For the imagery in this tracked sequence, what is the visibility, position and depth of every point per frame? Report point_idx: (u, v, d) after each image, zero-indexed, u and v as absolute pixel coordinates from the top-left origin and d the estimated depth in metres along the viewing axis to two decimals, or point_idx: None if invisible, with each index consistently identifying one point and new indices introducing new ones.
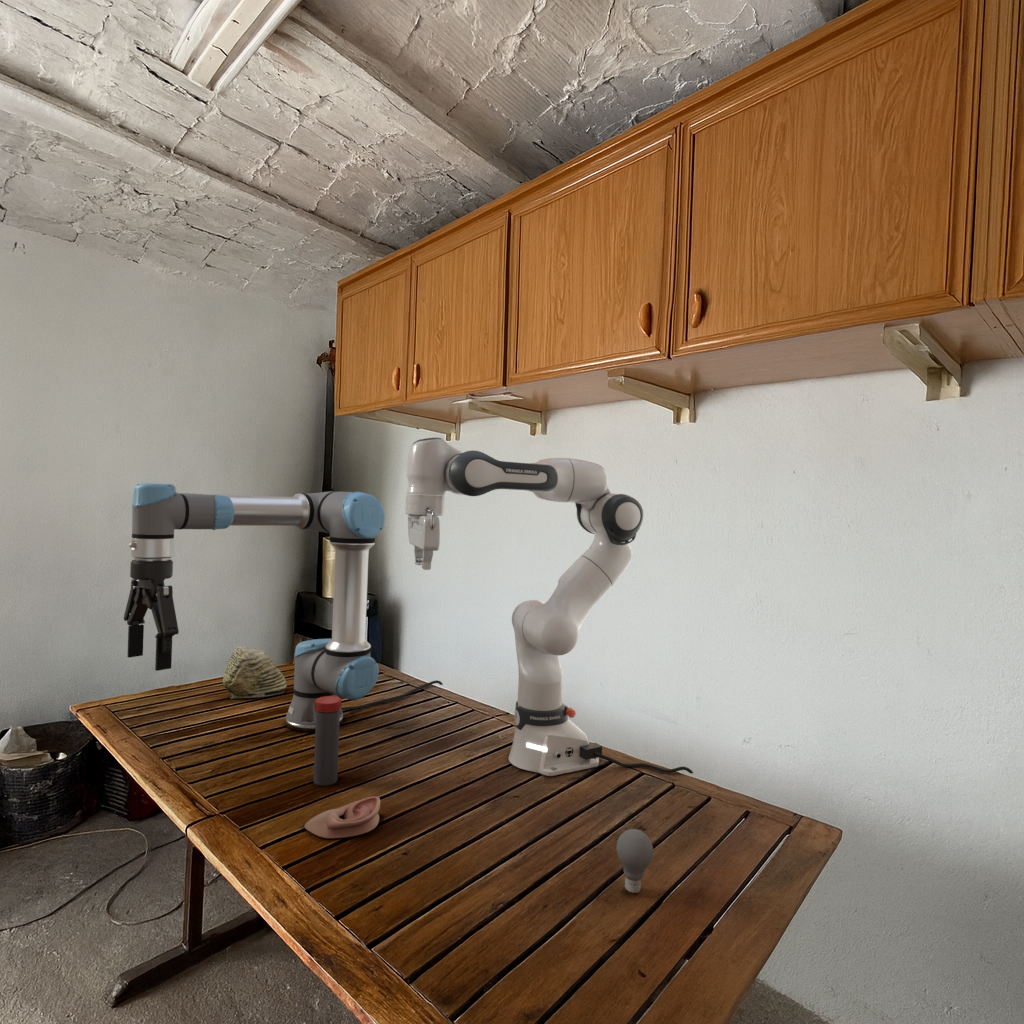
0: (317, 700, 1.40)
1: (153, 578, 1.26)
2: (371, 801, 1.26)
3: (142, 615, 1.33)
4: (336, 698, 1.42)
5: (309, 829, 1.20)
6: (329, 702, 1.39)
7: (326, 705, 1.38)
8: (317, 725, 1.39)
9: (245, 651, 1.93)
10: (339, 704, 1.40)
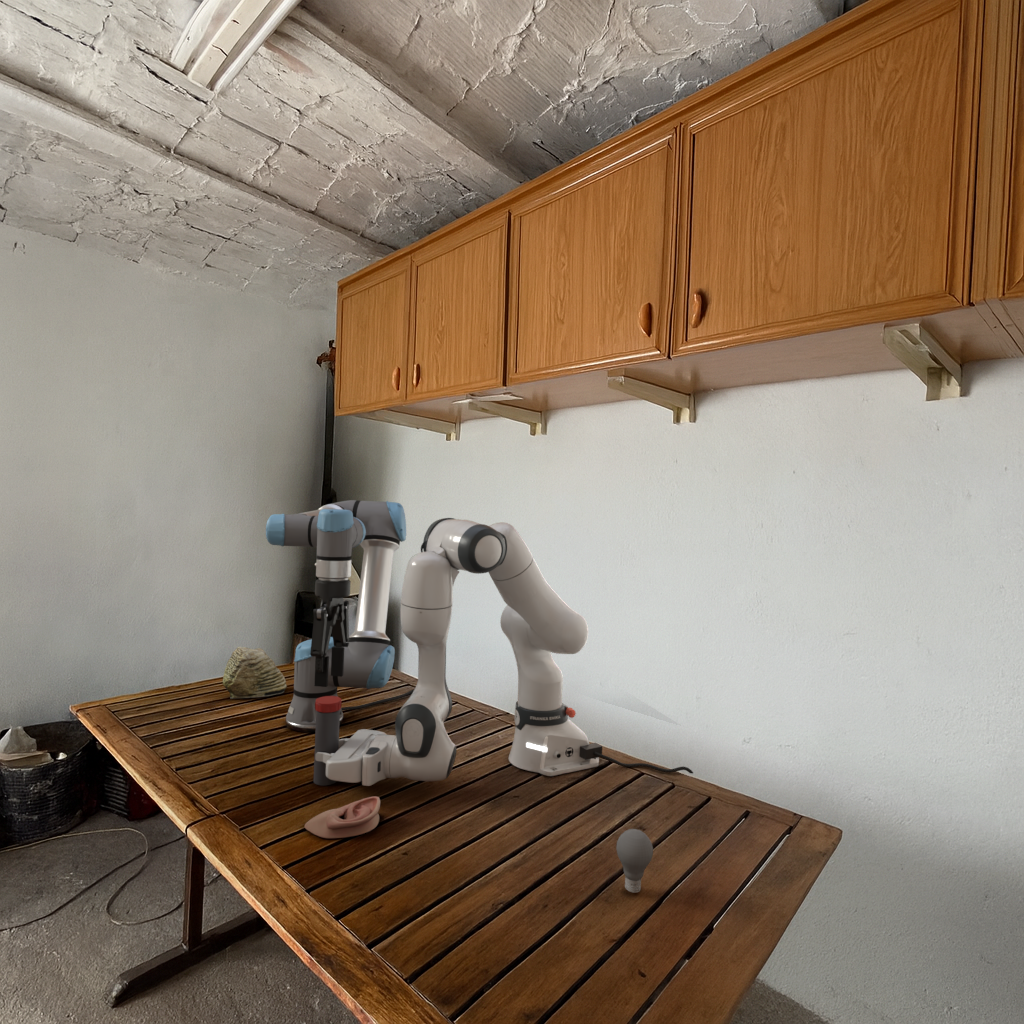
0: (317, 700, 1.40)
1: (320, 596, 1.37)
2: (371, 801, 1.26)
3: (340, 636, 1.44)
4: (336, 698, 1.42)
5: (309, 829, 1.20)
6: (329, 702, 1.39)
7: (326, 705, 1.38)
8: (317, 725, 1.39)
9: (245, 651, 1.93)
10: (339, 704, 1.40)
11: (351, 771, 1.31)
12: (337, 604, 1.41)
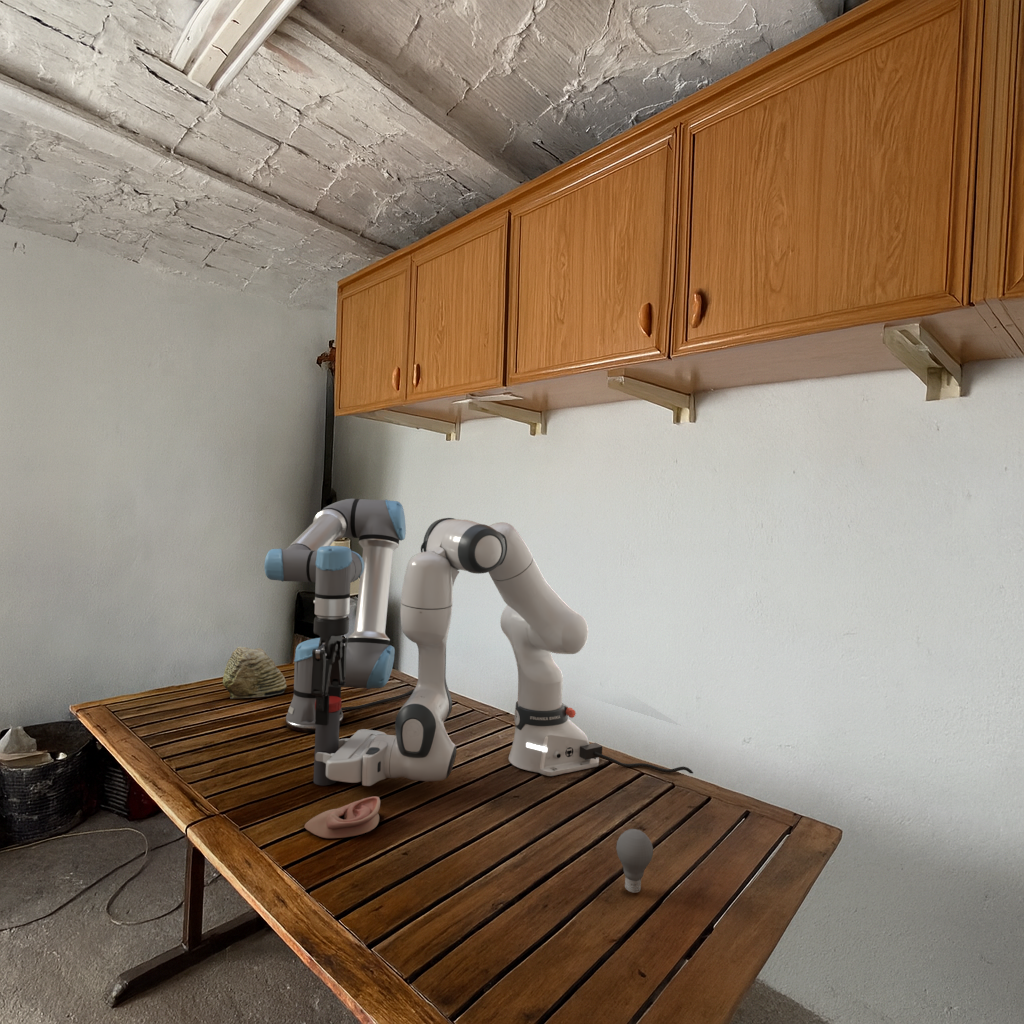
0: None
1: (319, 634, 1.37)
2: (371, 801, 1.26)
3: (337, 674, 1.44)
4: (336, 698, 1.42)
5: (309, 829, 1.20)
6: (329, 702, 1.39)
7: None
8: (317, 725, 1.39)
9: (245, 651, 1.93)
10: (339, 704, 1.40)
11: (351, 771, 1.31)
12: (336, 641, 1.41)
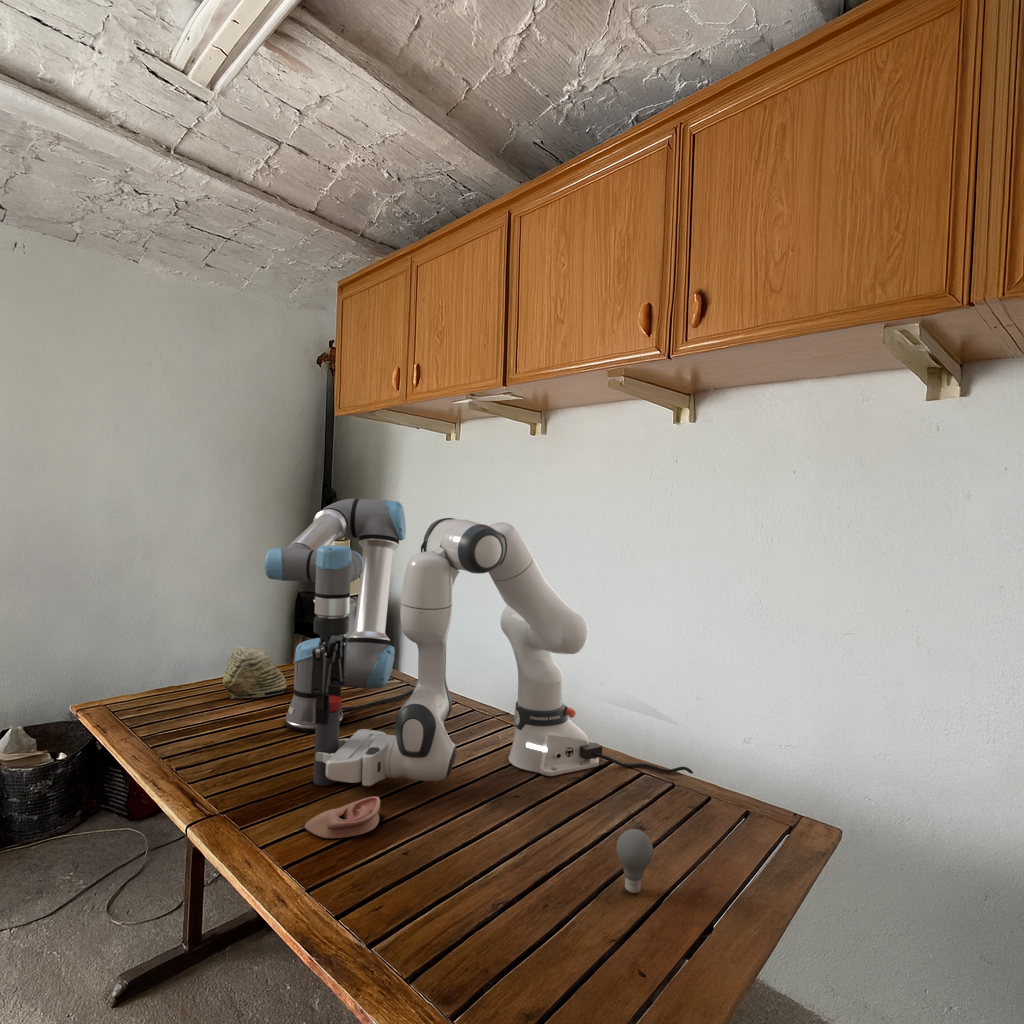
0: None
1: (319, 634, 1.37)
2: (371, 801, 1.26)
3: (337, 673, 1.44)
4: None
5: (309, 829, 1.20)
6: (337, 698, 1.42)
7: (341, 701, 1.41)
8: (317, 725, 1.39)
9: (245, 651, 1.93)
10: None
11: (351, 771, 1.31)
12: (336, 641, 1.41)
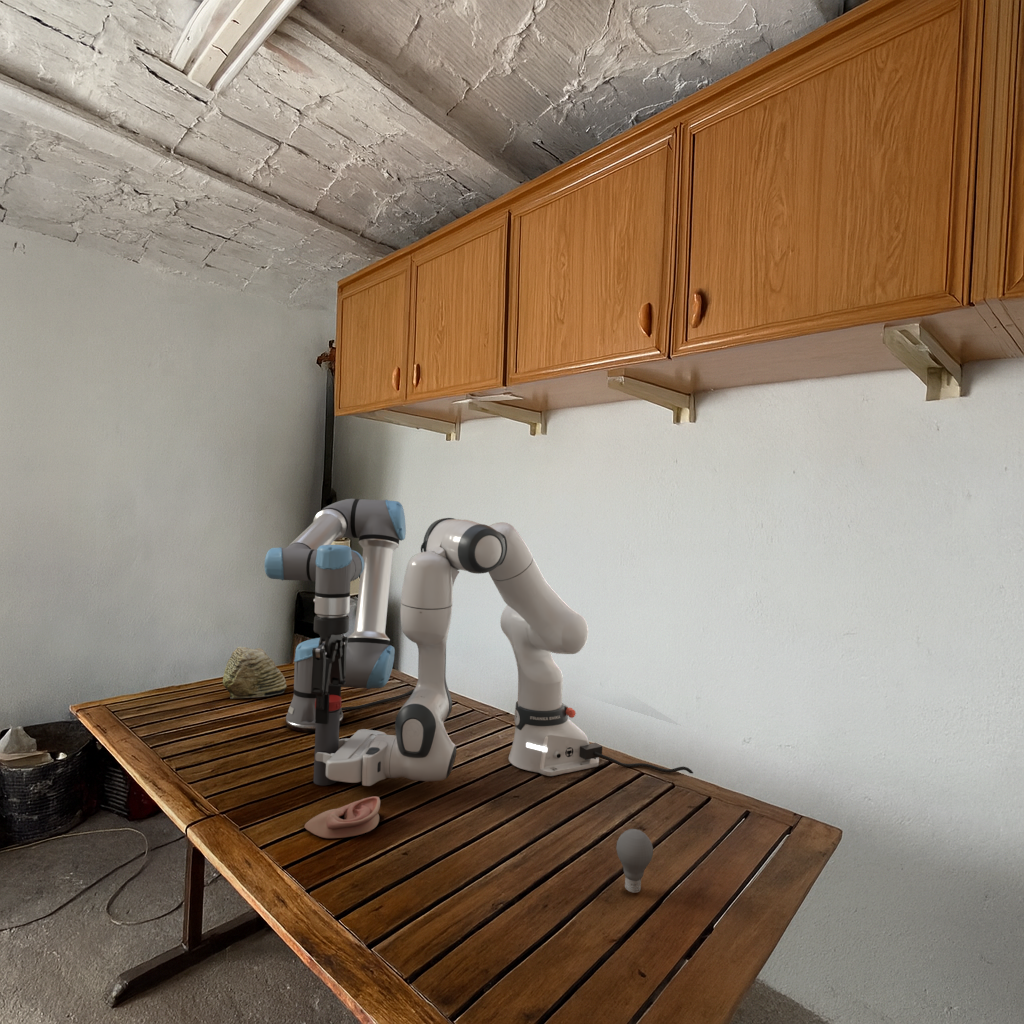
0: (339, 698, 1.42)
1: (319, 633, 1.37)
2: (371, 801, 1.26)
3: (337, 673, 1.44)
4: None
5: (309, 829, 1.20)
6: None
7: None
8: (317, 725, 1.39)
9: (245, 651, 1.93)
10: None
11: (351, 771, 1.31)
12: (336, 640, 1.41)
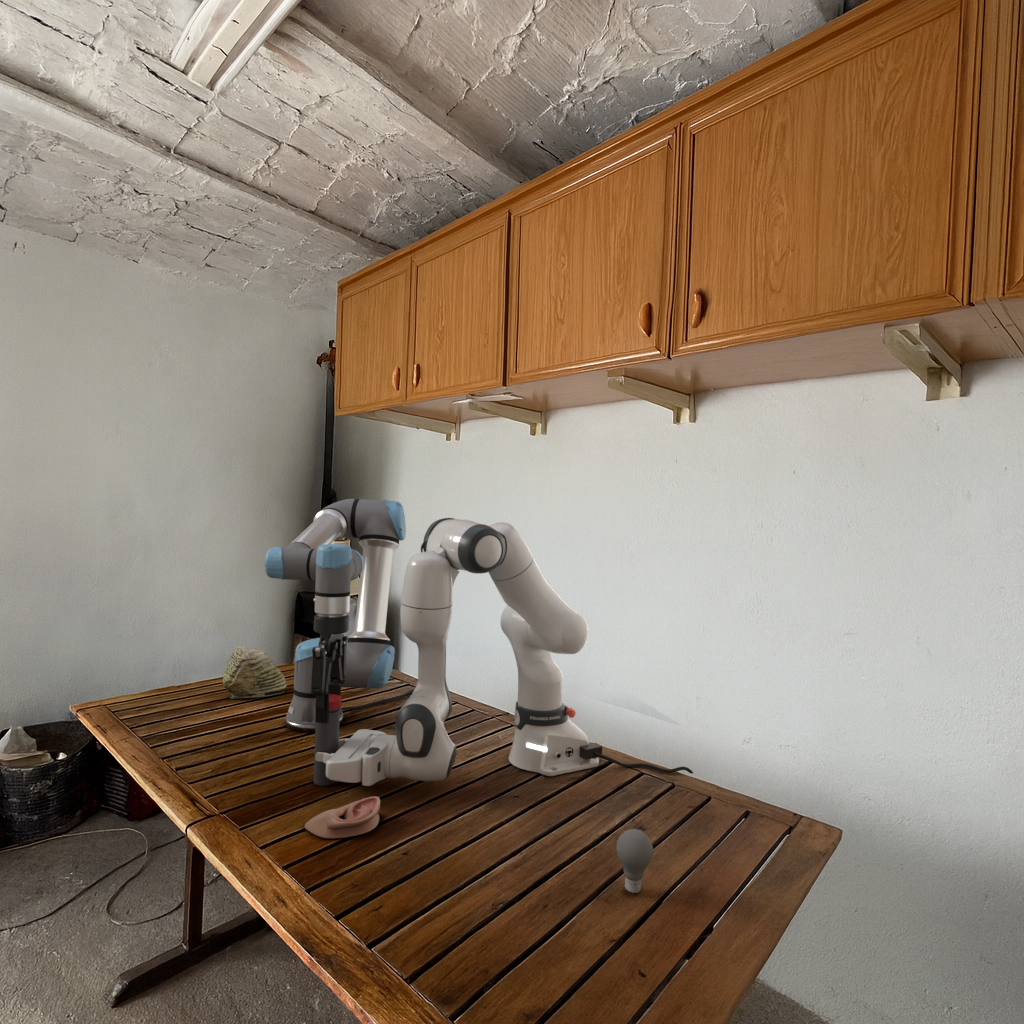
0: (329, 694, 1.43)
1: (319, 632, 1.37)
2: (371, 801, 1.26)
3: (337, 672, 1.44)
4: (331, 700, 1.40)
5: (309, 829, 1.20)
6: None
7: None
8: (317, 725, 1.39)
9: (245, 651, 1.93)
10: None
11: (351, 771, 1.31)
12: (336, 639, 1.41)
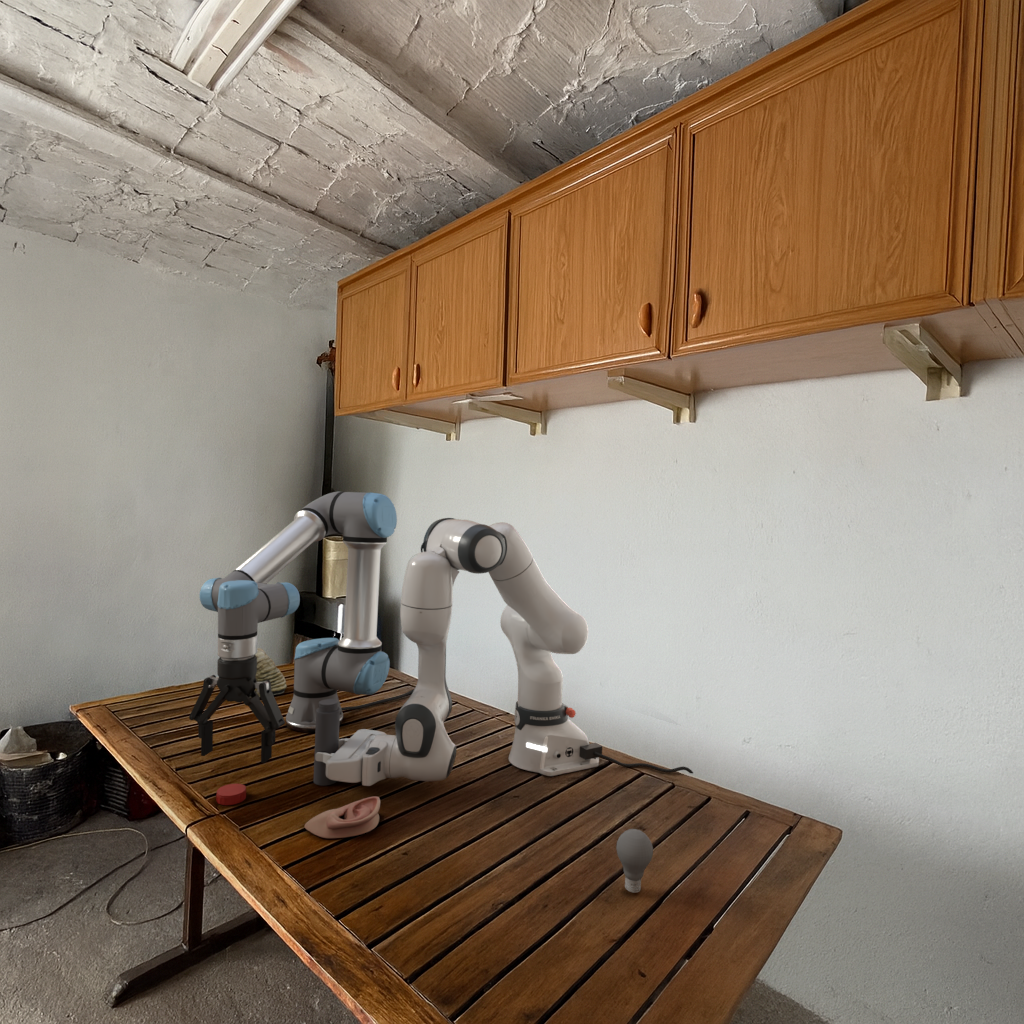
0: (219, 790, 1.31)
1: (250, 676, 1.29)
2: (371, 801, 1.26)
3: (214, 711, 1.33)
4: (241, 787, 1.32)
5: (309, 829, 1.20)
6: (229, 793, 1.29)
7: (225, 797, 1.28)
8: (317, 725, 1.39)
9: None
10: (241, 795, 1.30)
11: (351, 771, 1.31)
12: None
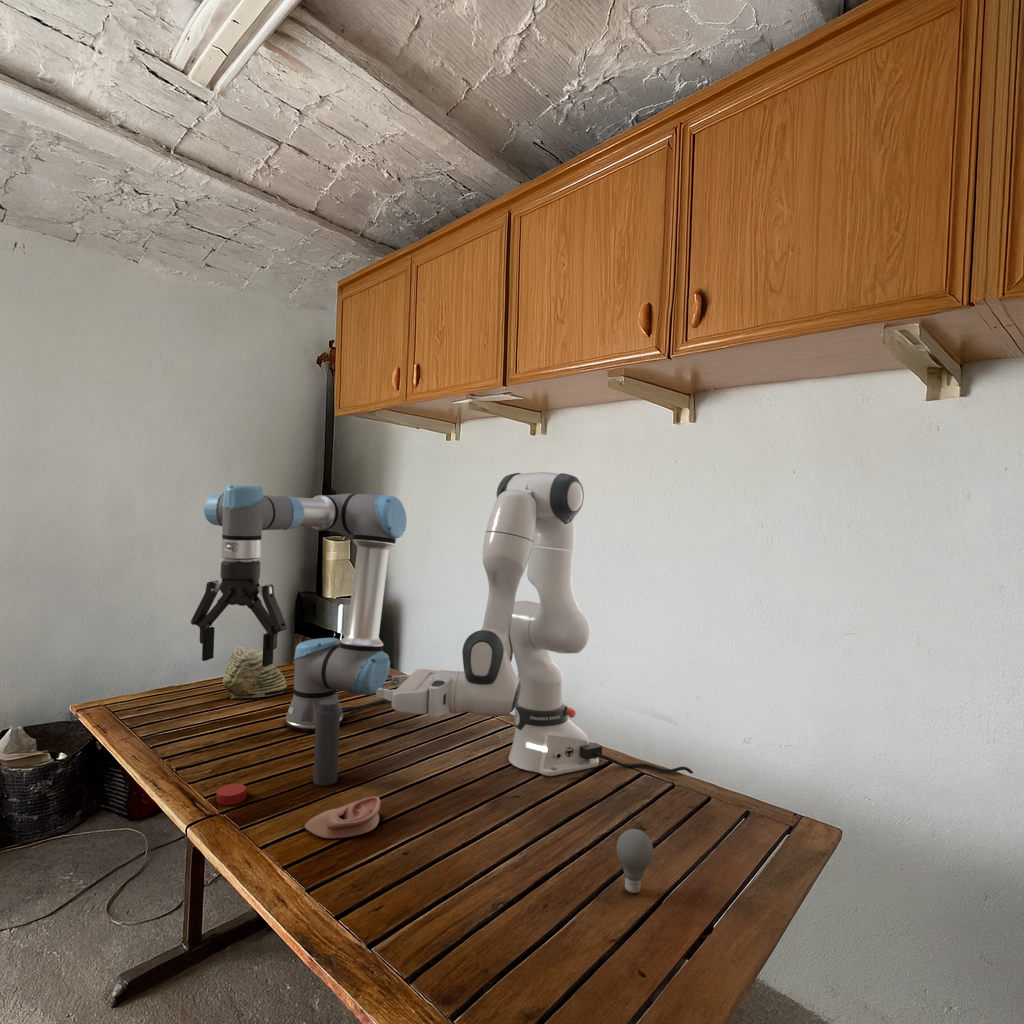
0: (219, 790, 1.31)
1: (253, 578, 1.29)
2: (371, 801, 1.26)
3: (216, 617, 1.32)
4: (241, 787, 1.32)
5: (309, 829, 1.20)
6: (229, 793, 1.29)
7: (225, 797, 1.28)
8: (317, 725, 1.39)
9: (245, 651, 1.93)
10: (241, 795, 1.30)
11: (417, 702, 1.29)
12: None
